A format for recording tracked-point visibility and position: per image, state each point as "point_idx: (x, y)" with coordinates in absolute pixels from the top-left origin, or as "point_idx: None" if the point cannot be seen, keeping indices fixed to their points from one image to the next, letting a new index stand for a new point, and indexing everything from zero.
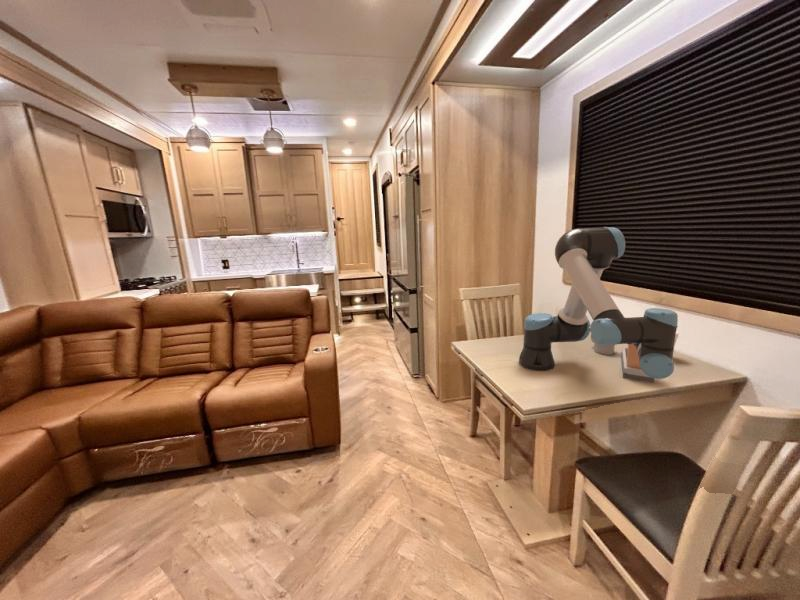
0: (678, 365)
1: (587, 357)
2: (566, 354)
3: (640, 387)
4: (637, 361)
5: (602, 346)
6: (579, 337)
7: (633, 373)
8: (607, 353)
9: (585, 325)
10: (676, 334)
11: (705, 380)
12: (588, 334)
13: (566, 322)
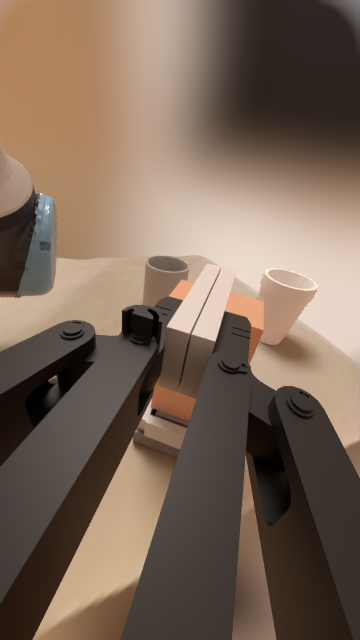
0: (294, 365)
1: (107, 331)
2: (64, 317)
3: (154, 529)
4: (182, 401)
5: (153, 303)
6: (7, 285)
7: (162, 439)
8: None
9: (18, 235)
10: (313, 291)
11: (352, 440)
12: (44, 276)
13: None
